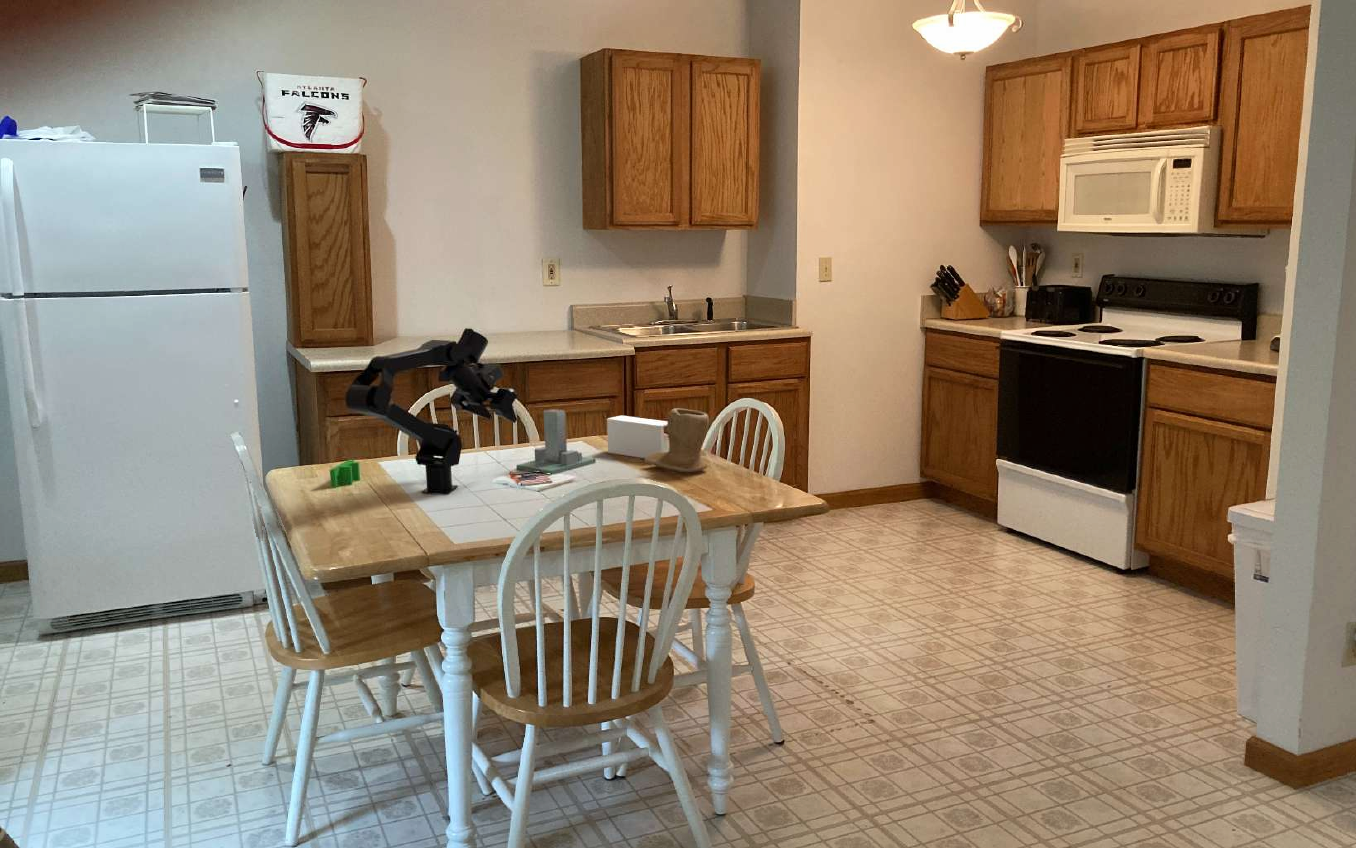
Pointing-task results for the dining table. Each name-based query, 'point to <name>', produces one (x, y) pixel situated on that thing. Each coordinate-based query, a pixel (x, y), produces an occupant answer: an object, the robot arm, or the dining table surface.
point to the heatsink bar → (554, 435)
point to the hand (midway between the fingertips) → (502, 419)
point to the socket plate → (567, 463)
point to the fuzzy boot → (683, 441)
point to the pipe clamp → (344, 473)
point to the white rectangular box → (636, 436)
